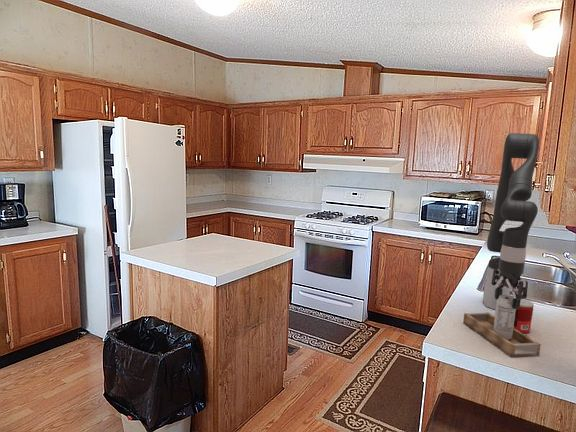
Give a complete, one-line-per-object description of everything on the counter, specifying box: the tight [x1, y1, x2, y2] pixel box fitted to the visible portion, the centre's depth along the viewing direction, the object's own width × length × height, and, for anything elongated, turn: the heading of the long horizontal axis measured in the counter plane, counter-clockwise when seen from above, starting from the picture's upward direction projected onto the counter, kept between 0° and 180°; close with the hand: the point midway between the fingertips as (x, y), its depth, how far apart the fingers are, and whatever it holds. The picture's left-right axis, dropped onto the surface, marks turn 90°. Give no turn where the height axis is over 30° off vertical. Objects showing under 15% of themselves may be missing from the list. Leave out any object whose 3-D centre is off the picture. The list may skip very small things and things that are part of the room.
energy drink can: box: [493, 295, 516, 341], centre depth 139 cm, size 6×6×15 cm
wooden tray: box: [462, 312, 542, 358], centre depth 142 cm, size 26×10×4 cm, turn 10°
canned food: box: [513, 299, 535, 335], centre depth 149 cm, size 8×8×11 cm
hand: (506, 303), depth 138 cm, fingers open, 8 cm apart
